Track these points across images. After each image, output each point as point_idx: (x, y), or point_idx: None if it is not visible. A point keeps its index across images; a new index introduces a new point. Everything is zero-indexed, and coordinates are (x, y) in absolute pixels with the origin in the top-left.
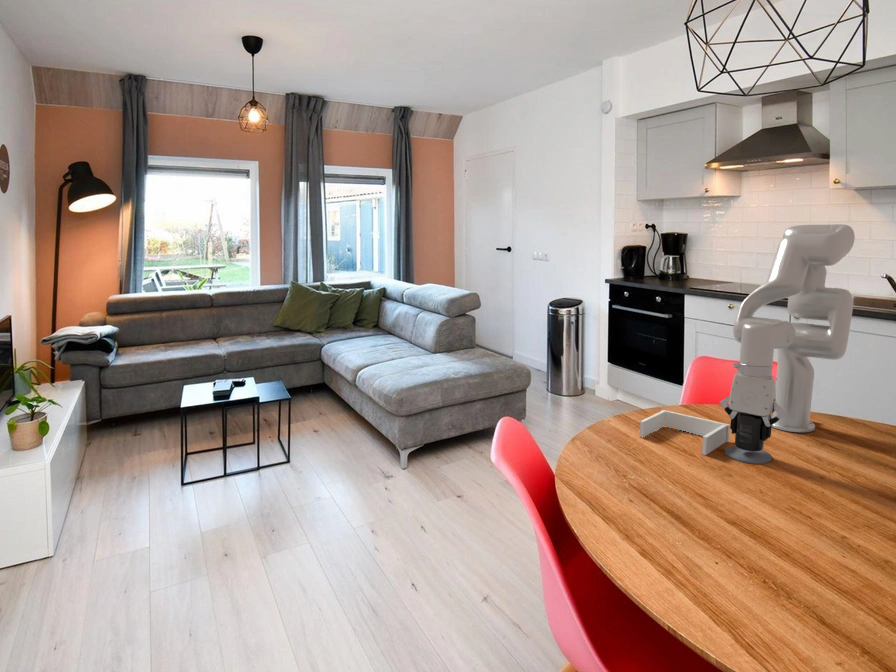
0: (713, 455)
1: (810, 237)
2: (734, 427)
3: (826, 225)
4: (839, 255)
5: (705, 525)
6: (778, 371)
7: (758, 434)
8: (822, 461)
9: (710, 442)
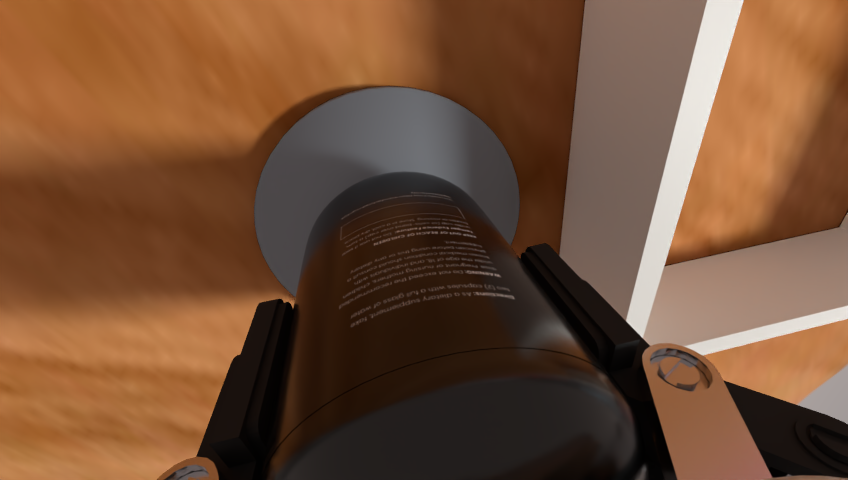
0: (542, 43)
1: None
2: (555, 283)
3: None
4: None
5: None
6: None
7: (294, 313)
8: (152, 425)
9: (627, 83)
